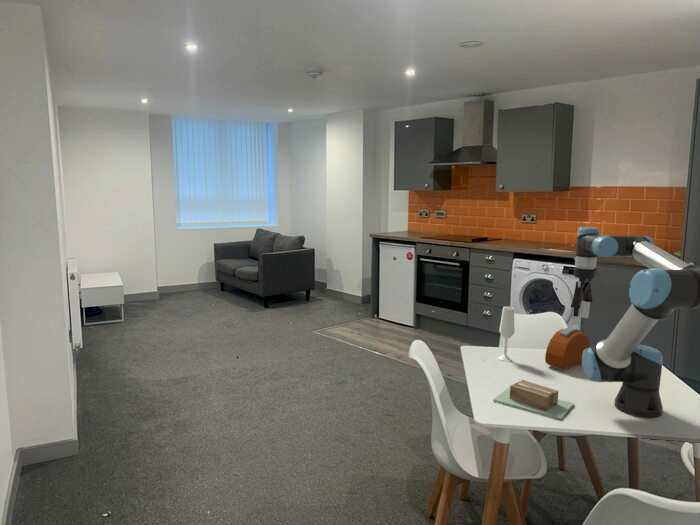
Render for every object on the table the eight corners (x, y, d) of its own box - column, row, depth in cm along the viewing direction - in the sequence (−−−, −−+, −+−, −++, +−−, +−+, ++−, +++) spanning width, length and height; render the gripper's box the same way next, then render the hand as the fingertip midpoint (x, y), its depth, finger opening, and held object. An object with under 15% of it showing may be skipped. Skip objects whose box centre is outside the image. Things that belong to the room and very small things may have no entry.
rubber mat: (573, 405, 193) (573, 403, 193) (560, 420, 180) (560, 418, 180) (509, 388, 207) (509, 386, 207) (493, 401, 195) (493, 399, 194)
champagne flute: (510, 362, 238) (514, 310, 235) (495, 359, 242) (499, 308, 238) (514, 358, 244) (517, 307, 241) (499, 355, 247) (502, 305, 244)
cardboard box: (521, 392, 202) (522, 379, 201) (557, 404, 192) (558, 390, 191) (509, 398, 196) (510, 385, 195) (545, 410, 186) (546, 397, 185)
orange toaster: (571, 357, 248) (574, 322, 245) (590, 362, 241) (593, 326, 238) (543, 367, 233) (546, 330, 231) (562, 373, 226) (566, 335, 224)
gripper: (583, 262, 217) (578, 313, 220) (565, 270, 197) (561, 325, 200) (603, 265, 212) (598, 316, 215) (587, 272, 192) (582, 329, 196)
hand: (580, 321), depth 208 cm, fingers open, 13 cm apart
